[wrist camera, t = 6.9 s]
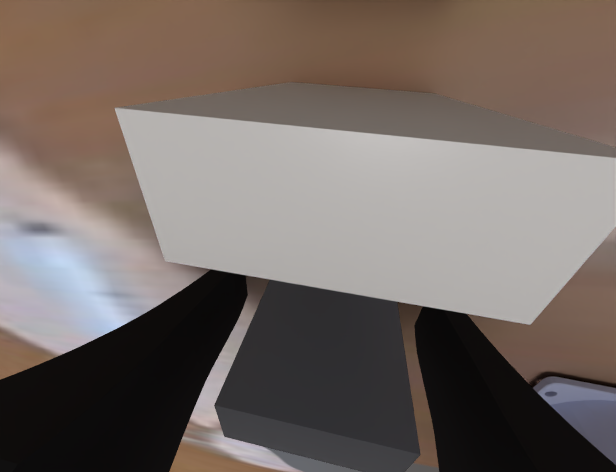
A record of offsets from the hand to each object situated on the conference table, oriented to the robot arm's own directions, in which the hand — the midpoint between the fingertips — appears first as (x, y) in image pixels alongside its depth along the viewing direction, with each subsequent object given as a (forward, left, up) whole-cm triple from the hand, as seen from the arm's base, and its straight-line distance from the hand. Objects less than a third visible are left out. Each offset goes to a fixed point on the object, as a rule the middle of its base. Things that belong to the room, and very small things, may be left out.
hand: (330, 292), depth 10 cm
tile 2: (+6, 0, -2) cm, 6 cm away
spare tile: (0, 0, -2) cm, 2 cm away
